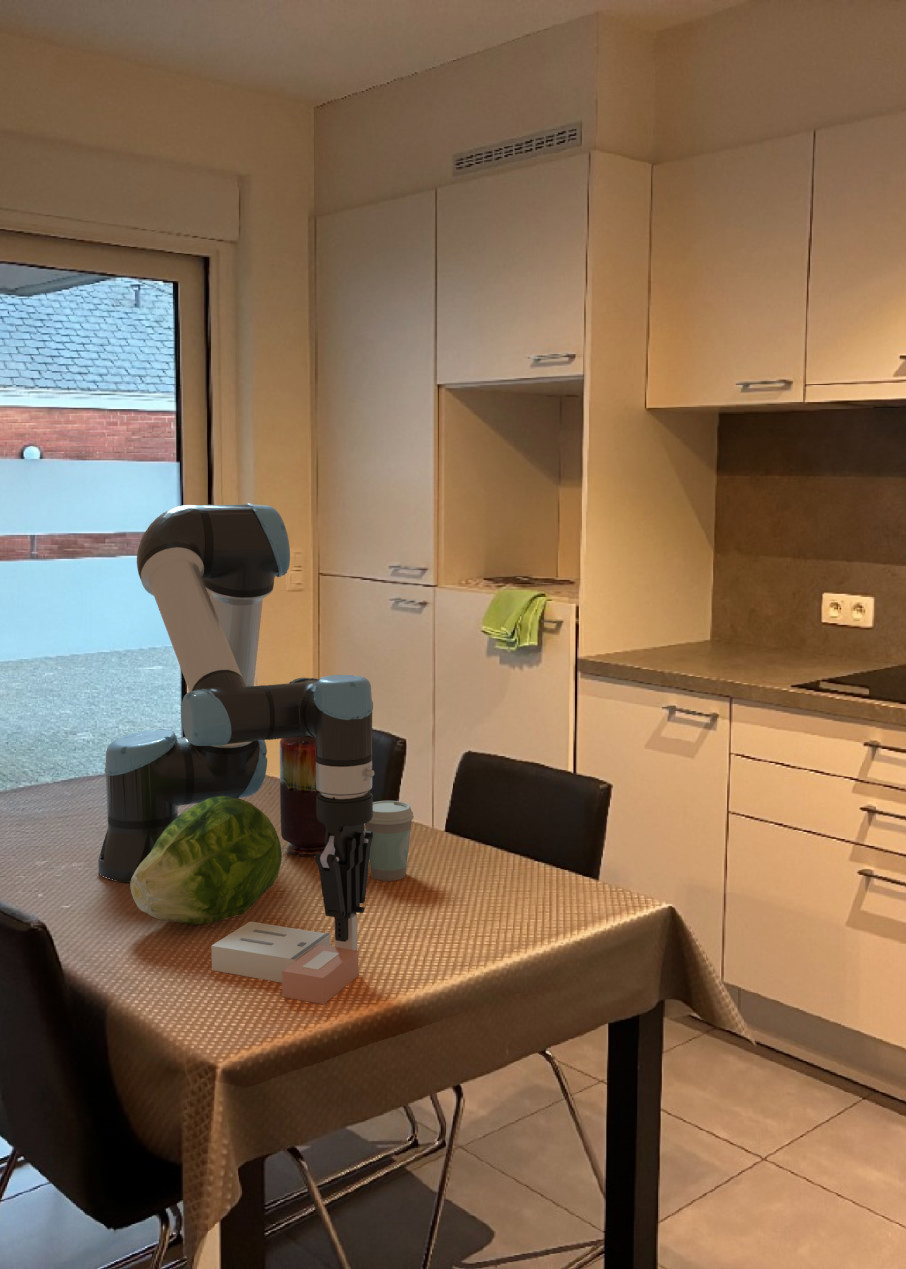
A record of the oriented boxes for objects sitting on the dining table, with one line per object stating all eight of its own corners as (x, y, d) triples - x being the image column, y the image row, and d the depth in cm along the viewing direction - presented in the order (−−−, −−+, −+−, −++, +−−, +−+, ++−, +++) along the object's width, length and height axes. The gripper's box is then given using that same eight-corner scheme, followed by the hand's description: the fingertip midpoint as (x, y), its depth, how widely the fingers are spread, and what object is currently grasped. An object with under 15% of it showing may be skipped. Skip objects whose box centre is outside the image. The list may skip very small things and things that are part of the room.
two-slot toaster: (211, 970, 171) (211, 944, 170) (250, 944, 180) (250, 920, 179) (295, 985, 166) (295, 959, 165) (330, 958, 175) (330, 933, 174)
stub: (282, 996, 162) (282, 970, 161) (319, 968, 171) (318, 943, 171) (323, 1004, 160) (323, 977, 159) (358, 975, 169) (358, 950, 168)
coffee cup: (407, 885, 206) (406, 814, 204) (357, 881, 208) (356, 811, 206) (418, 869, 214) (418, 801, 213) (370, 866, 216) (370, 798, 214)
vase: (303, 862, 218) (301, 715, 214) (269, 848, 226) (266, 706, 223) (354, 850, 225) (353, 707, 222) (319, 837, 233) (317, 699, 230)
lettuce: (110, 916, 192) (98, 813, 185) (240, 861, 207) (233, 764, 200) (172, 974, 179) (161, 866, 172) (306, 911, 194) (301, 809, 187)
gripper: (347, 806, 160) (349, 982, 163) (390, 783, 172) (391, 948, 175) (296, 800, 162) (298, 974, 166) (341, 778, 174) (343, 940, 177)
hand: (346, 960), depth 170 cm, fingers closed
